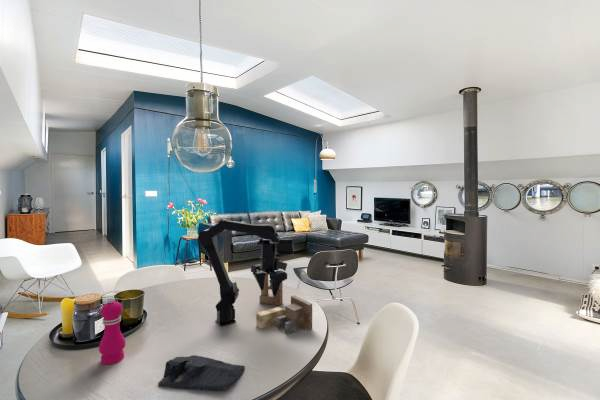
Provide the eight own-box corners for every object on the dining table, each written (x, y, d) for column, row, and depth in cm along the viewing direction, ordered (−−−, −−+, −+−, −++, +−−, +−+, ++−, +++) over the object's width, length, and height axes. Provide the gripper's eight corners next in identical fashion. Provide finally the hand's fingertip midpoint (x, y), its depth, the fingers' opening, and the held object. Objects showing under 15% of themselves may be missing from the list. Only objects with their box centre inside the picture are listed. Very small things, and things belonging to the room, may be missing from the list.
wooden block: (279, 305, 140) (279, 267, 140) (259, 303, 144) (259, 266, 143) (282, 303, 144) (282, 266, 143) (262, 300, 147) (262, 264, 147)
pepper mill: (120, 350, 100) (119, 292, 100) (129, 358, 96) (128, 296, 95) (95, 360, 95) (94, 298, 94) (103, 368, 90) (102, 303, 90)
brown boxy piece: (291, 336, 110) (291, 310, 110) (273, 325, 120) (273, 300, 119) (312, 329, 116) (312, 303, 116) (293, 318, 126) (293, 295, 125)
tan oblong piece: (260, 328, 117) (260, 315, 117) (256, 325, 120) (256, 313, 119) (290, 319, 125) (290, 307, 125) (285, 316, 128) (285, 304, 128)
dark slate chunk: (223, 401, 77) (223, 383, 77) (152, 387, 83) (152, 370, 82) (249, 367, 91) (249, 352, 91) (187, 357, 97) (187, 343, 97)
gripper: (298, 256, 120) (297, 294, 121) (271, 249, 135) (271, 283, 135) (275, 260, 113) (275, 300, 113) (250, 252, 127) (250, 288, 128)
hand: (268, 292), depth 123 cm, fingers open, 9 cm apart
